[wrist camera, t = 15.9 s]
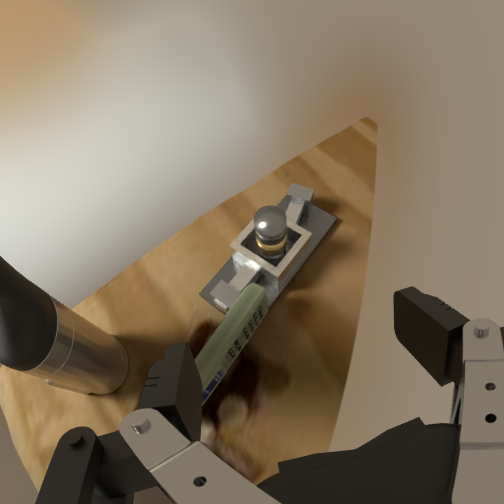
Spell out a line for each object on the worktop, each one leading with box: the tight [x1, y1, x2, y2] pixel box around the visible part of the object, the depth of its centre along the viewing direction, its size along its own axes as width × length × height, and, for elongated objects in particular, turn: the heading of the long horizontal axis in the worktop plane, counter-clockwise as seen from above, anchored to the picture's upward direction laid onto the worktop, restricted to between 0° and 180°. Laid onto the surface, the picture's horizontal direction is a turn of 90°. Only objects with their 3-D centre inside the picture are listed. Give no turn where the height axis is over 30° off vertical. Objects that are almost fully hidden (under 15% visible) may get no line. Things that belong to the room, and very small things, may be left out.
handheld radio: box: [195, 283, 269, 405], centre depth 38 cm, size 7×3×25 cm
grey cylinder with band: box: [254, 206, 287, 267], centre depth 43 cm, size 4×4×9 cm
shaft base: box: [199, 183, 337, 315], centre depth 46 cm, size 22×9×5 cm, turn 142°
